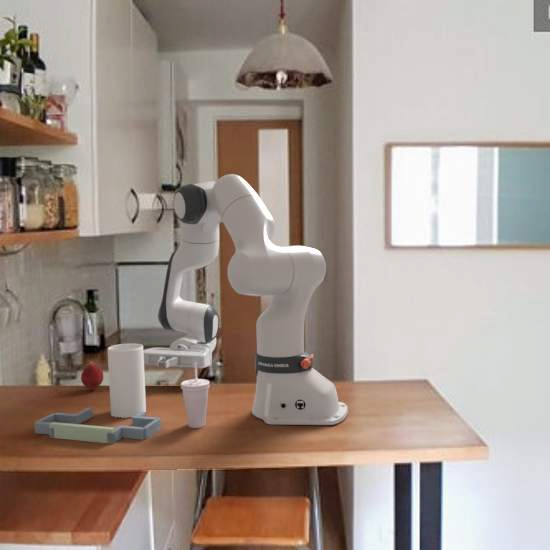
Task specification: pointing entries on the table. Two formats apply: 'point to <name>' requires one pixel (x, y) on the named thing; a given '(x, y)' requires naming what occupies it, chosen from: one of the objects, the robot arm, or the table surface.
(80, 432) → the box
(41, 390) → the table surface
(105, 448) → the table surface
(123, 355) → the cup
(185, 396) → the smoothie
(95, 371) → the onion
